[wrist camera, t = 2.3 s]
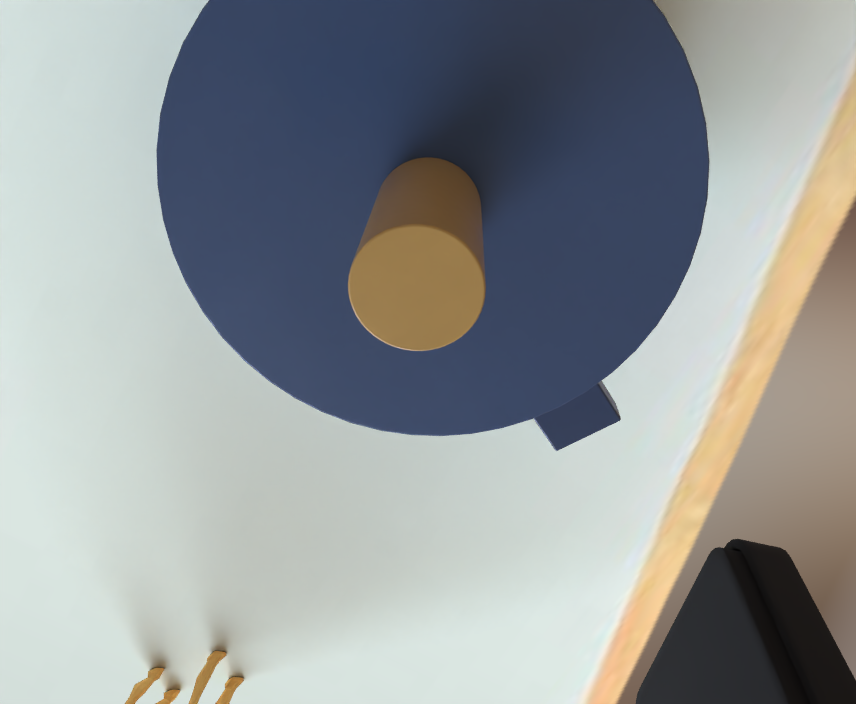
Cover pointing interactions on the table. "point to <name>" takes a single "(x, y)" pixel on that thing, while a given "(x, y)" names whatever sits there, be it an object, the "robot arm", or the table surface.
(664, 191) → the lid
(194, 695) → the giraffe
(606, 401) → the blue cooking pot
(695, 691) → the robot arm
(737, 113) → the table surface
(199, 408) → the table surface
